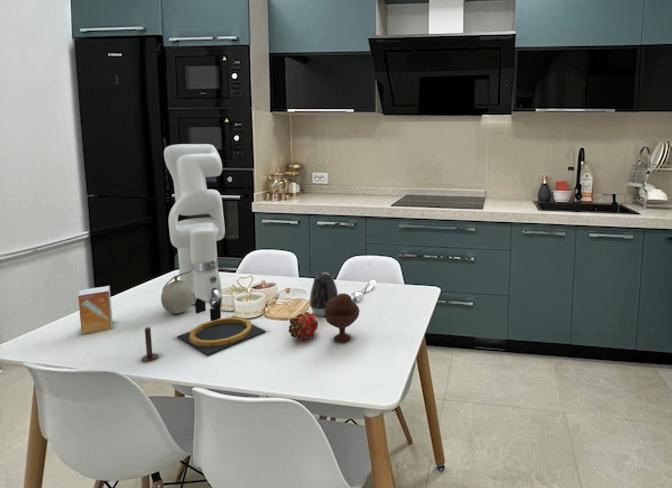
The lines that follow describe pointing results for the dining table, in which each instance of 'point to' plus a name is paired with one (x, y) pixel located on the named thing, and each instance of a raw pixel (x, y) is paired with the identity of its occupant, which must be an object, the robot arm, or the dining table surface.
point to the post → (149, 347)
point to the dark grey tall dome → (322, 292)
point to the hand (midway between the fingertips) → (208, 315)
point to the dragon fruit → (303, 326)
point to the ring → (221, 341)
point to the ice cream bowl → (341, 315)
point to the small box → (95, 309)
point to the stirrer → (357, 295)
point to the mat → (220, 336)
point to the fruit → (177, 295)
